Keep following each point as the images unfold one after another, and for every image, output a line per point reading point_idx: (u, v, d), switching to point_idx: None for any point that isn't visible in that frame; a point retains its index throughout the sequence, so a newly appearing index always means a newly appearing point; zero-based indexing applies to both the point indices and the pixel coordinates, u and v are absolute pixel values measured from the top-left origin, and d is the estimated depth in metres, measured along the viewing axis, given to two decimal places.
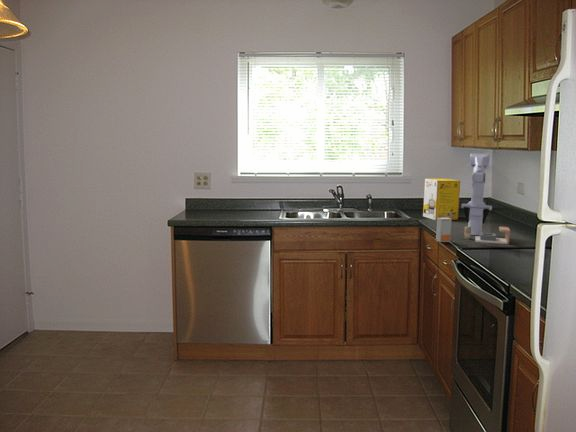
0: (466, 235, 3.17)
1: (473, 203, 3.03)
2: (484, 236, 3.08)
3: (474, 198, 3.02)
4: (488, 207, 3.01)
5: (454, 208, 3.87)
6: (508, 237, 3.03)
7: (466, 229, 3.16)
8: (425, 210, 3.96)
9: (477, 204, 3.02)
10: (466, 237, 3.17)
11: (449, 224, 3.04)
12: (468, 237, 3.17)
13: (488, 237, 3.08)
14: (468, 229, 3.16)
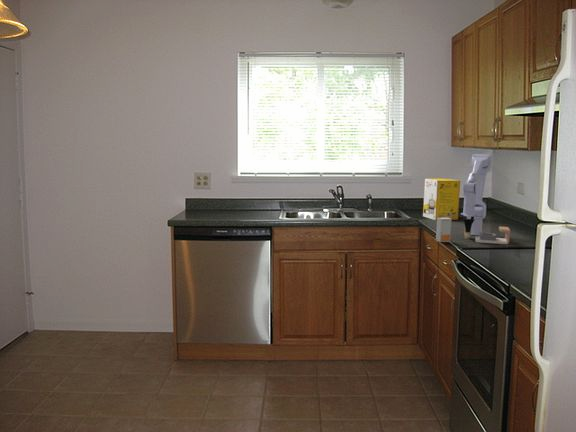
0: (466, 235, 3.17)
1: None
2: (484, 236, 3.08)
3: None
4: (466, 216, 3.11)
5: (454, 208, 3.87)
6: (508, 237, 3.03)
7: None
8: (425, 210, 3.96)
9: (463, 212, 3.16)
10: (466, 237, 3.17)
11: (449, 224, 3.04)
12: (468, 237, 3.17)
13: (488, 237, 3.08)
14: None
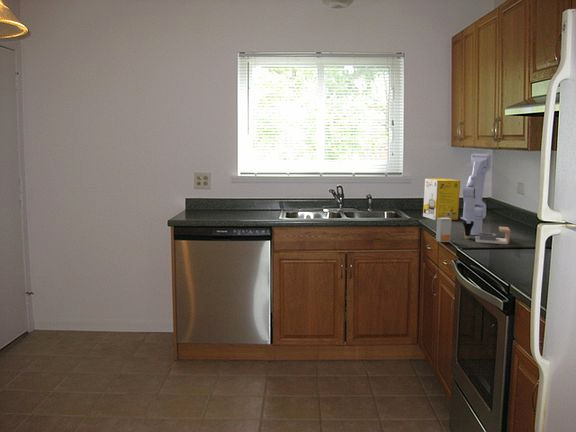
0: None
1: None
2: (484, 236, 3.08)
3: None
4: (466, 220, 3.11)
5: (454, 208, 3.87)
6: (508, 237, 3.03)
7: None
8: (425, 210, 3.96)
9: (463, 216, 3.16)
10: (466, 237, 3.17)
11: (449, 224, 3.04)
12: (468, 237, 3.17)
13: (488, 237, 3.08)
14: None
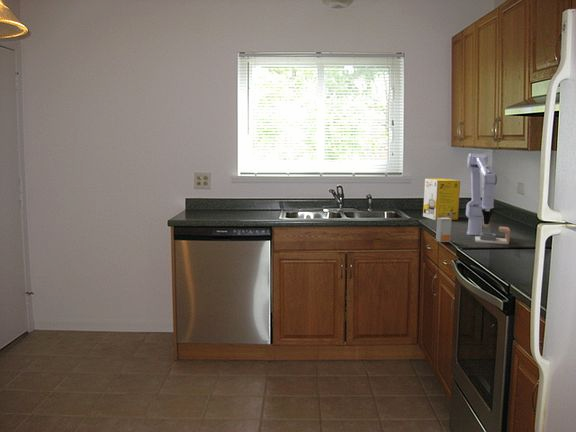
0: (485, 224, 3.09)
1: None
2: (484, 236, 3.08)
3: None
4: (485, 208, 3.04)
5: (454, 208, 3.87)
6: (508, 237, 3.03)
7: None
8: (425, 210, 3.96)
9: (482, 204, 3.09)
10: (485, 226, 3.10)
11: (449, 224, 3.04)
12: (487, 226, 3.09)
13: (488, 237, 3.08)
14: None
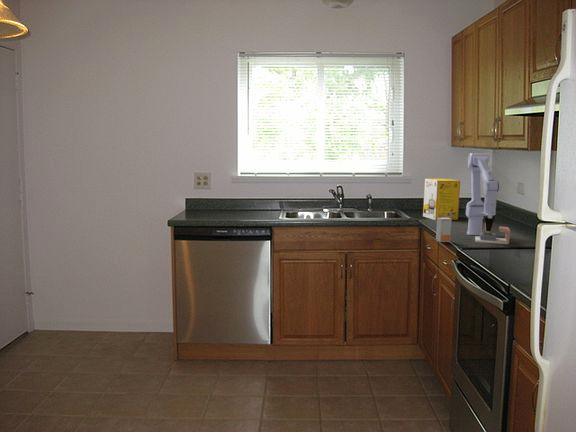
0: None
1: None
2: (484, 236, 3.08)
3: None
4: (487, 215, 3.04)
5: (454, 208, 3.87)
6: (508, 237, 3.03)
7: None
8: (425, 210, 3.96)
9: (484, 211, 3.09)
10: (487, 232, 3.10)
11: (449, 224, 3.04)
12: (489, 232, 3.10)
13: (488, 237, 3.08)
14: None
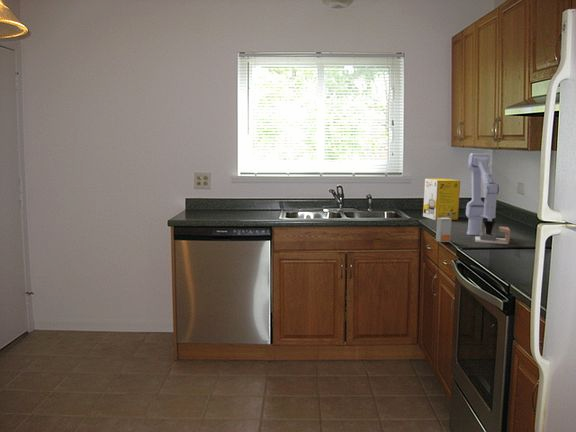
0: None
1: None
2: (484, 236, 3.08)
3: None
4: (487, 218, 3.05)
5: (454, 208, 3.87)
6: (508, 237, 3.03)
7: None
8: (425, 210, 3.96)
9: (484, 214, 3.10)
10: None
11: (449, 224, 3.04)
12: None
13: (488, 237, 3.08)
14: None
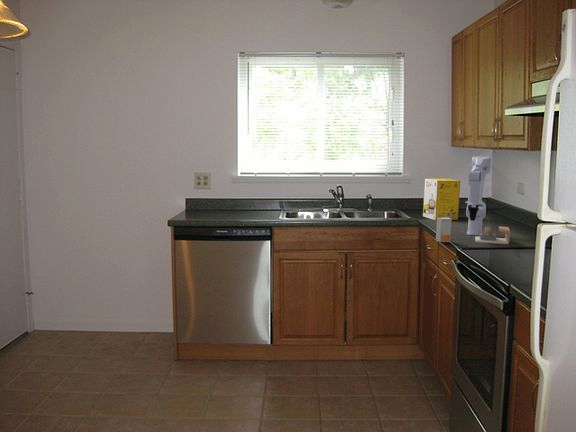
0: None
1: None
2: (484, 236, 3.08)
3: None
4: (471, 204, 3.11)
5: (454, 208, 3.87)
6: (508, 237, 3.03)
7: (486, 229, 3.10)
8: (425, 210, 3.96)
9: (468, 201, 3.16)
10: None
11: (449, 224, 3.04)
12: None
13: (488, 237, 3.08)
14: (488, 229, 3.09)
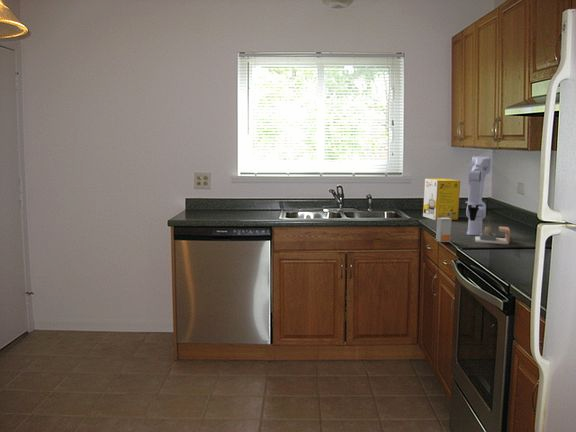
0: None
1: None
2: (484, 236, 3.08)
3: None
4: (471, 204, 3.11)
5: (454, 208, 3.87)
6: (508, 237, 3.03)
7: (486, 229, 3.10)
8: (425, 210, 3.96)
9: (468, 201, 3.16)
10: None
11: (449, 224, 3.04)
12: None
13: (488, 237, 3.08)
14: (488, 229, 3.09)
